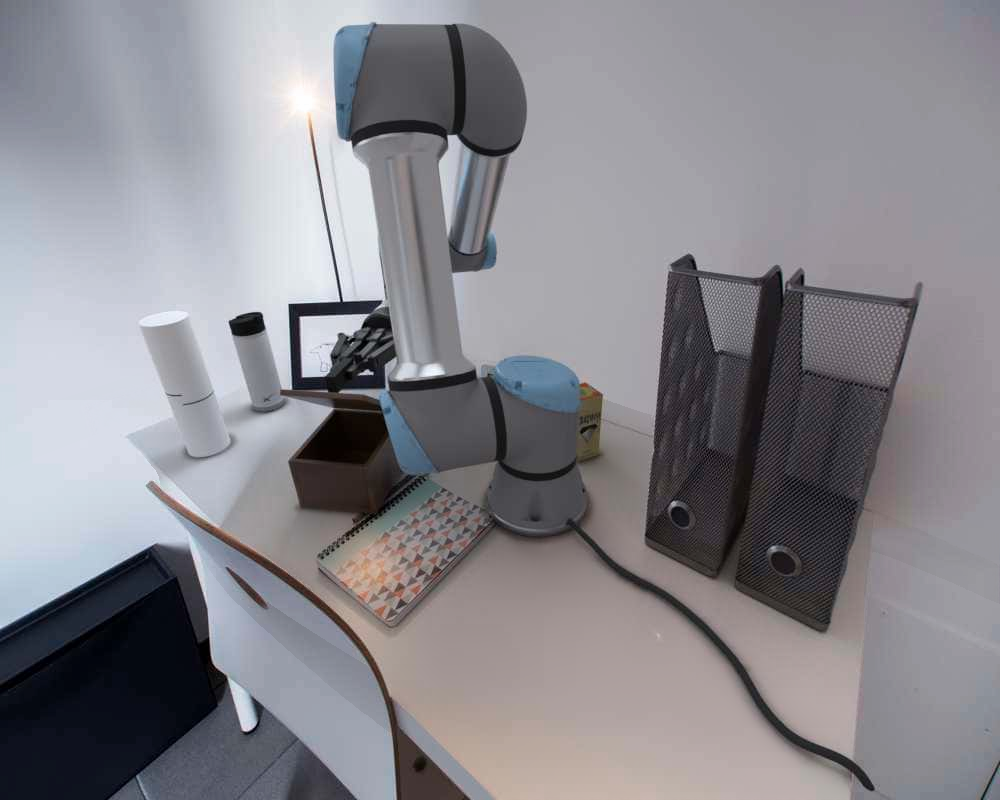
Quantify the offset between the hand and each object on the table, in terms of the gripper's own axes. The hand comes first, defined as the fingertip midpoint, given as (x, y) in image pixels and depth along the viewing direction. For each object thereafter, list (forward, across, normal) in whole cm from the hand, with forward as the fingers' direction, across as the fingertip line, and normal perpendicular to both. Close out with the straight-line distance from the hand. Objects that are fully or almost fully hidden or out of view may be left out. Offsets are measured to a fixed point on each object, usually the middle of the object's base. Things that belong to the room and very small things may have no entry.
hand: (331, 385), depth 77 cm
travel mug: (-24, +29, -19) cm, 42 cm away
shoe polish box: (-15, -36, -19) cm, 43 cm away
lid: (-3, 0, -5) cm, 6 cm away
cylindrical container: (-8, +32, -19) cm, 38 cm away
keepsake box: (-2, 0, -19) cm, 19 cm away
